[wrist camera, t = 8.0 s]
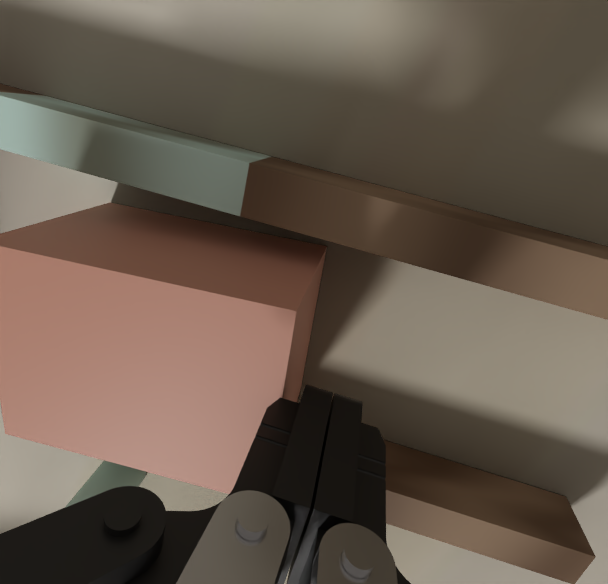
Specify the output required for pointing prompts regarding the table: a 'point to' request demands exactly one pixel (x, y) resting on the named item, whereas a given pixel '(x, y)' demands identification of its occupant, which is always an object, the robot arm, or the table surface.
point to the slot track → (374, 239)
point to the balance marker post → (108, 480)
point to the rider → (152, 337)
